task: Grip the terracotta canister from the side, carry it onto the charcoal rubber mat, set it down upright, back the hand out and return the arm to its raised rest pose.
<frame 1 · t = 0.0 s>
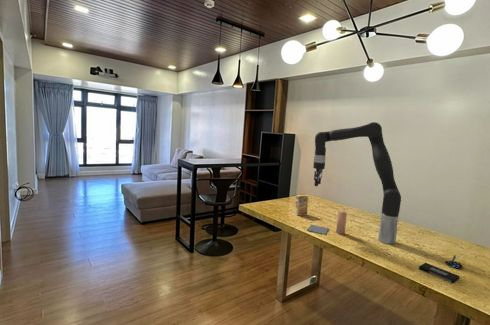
hand: (317, 185, 181), 29 cm above the table, tool pointing down, fingers open, 8 cm apart
candy box: (300, 214, 210), on the table
rubber mat: (317, 229, 178), on the table
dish: (453, 266, 138), on the table
vhs tape: (438, 275, 129), on the table
terracotta canister: (340, 233, 175), on the table
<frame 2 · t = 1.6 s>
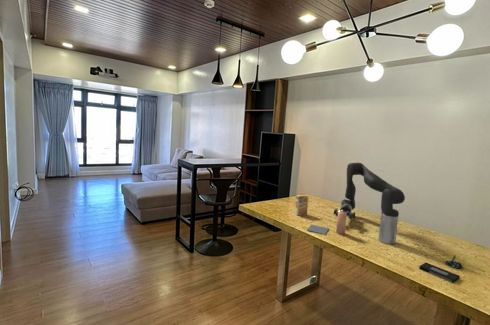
hand: (343, 216, 183), 8 cm above the table, tool horizontal, fingers open, 8 cm apart
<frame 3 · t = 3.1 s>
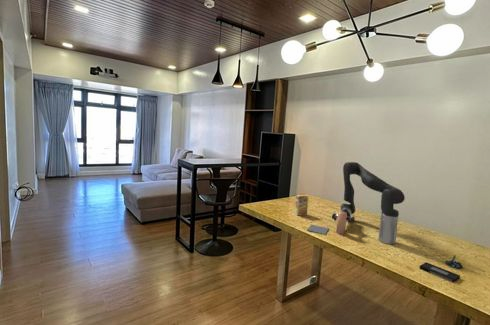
hand: (341, 220, 175), 8 cm above the table, tool horizontal, fingers open, 8 cm apart
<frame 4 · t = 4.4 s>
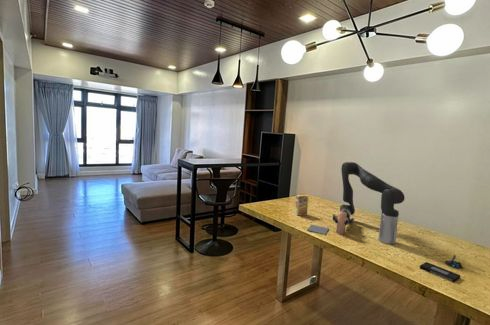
hand: (341, 222, 171), 8 cm above the table, tool horizontal, fingers closed on terracotta canister, 5 cm apart
terracotta canister: (340, 233, 175), on the table, touching gripper
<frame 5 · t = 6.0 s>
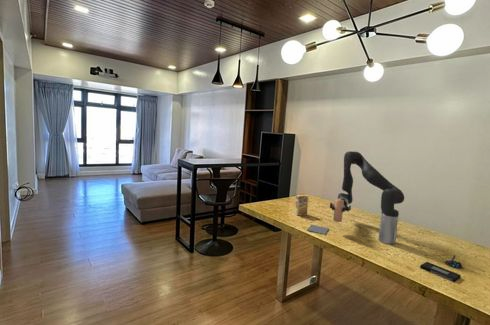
hand: (338, 209, 171), 16 cm above the table, tool horizontal, fingers closed on terracotta canister, 5 cm apart
terracotta canister: (337, 220, 175), point 8 cm above the table, touching gripper
when the fingers open (10 cm above the table, at t = 7.9 s): terracotta canister drops 1 cm, resting on rubber mat.
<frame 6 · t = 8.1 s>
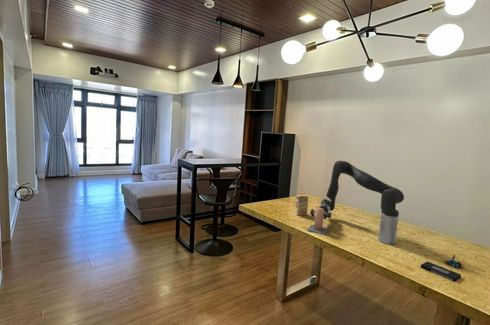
hand: (318, 216, 175), 10 cm above the table, tool horizontal, fingers open, 7 cm apart
terracotta canister: (318, 228, 178), point 1 cm above the table, touching rubber mat
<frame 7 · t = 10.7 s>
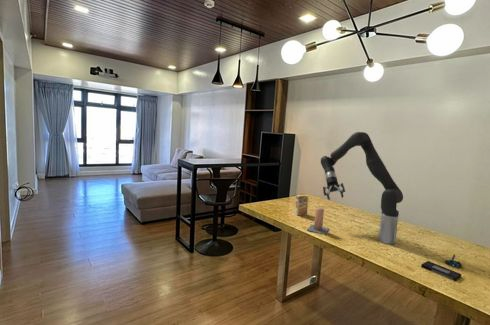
hand: (335, 198, 181), 21 cm above the table, tool tilted 45°, fingers open, 8 cm apart
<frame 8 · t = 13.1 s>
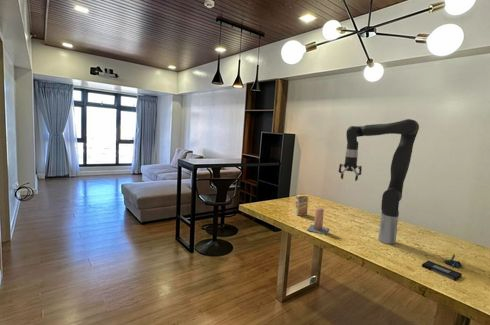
hand: (349, 180, 179), 34 cm above the table, tool pointing down, fingers open, 8 cm apart
at the end: terracotta canister inside the target area on the rubber mat (0.1 cm from its centre), point 0.6 cm above the rubber mat's base; terracotta canister tilted 1°; the gripper is holding nothing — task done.
